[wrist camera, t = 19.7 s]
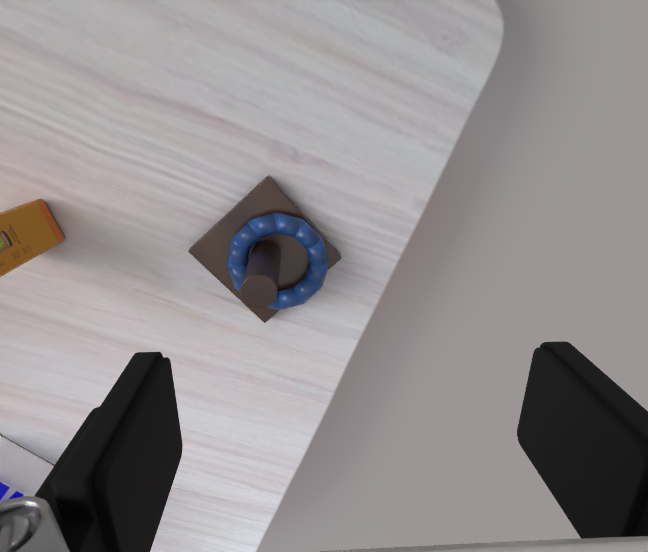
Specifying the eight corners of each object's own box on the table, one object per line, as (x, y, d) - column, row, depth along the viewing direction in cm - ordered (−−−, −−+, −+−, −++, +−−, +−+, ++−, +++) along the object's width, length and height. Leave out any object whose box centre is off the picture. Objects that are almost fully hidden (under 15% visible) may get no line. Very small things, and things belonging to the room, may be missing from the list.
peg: (268, 175, 31) (260, 195, 24) (340, 253, 34) (354, 295, 26) (190, 247, 33) (160, 288, 25) (265, 317, 35) (257, 373, 28)
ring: (312, 200, 31) (313, 204, 30) (336, 290, 34) (338, 297, 32) (215, 226, 31) (212, 231, 30) (246, 314, 34) (245, 322, 32)
